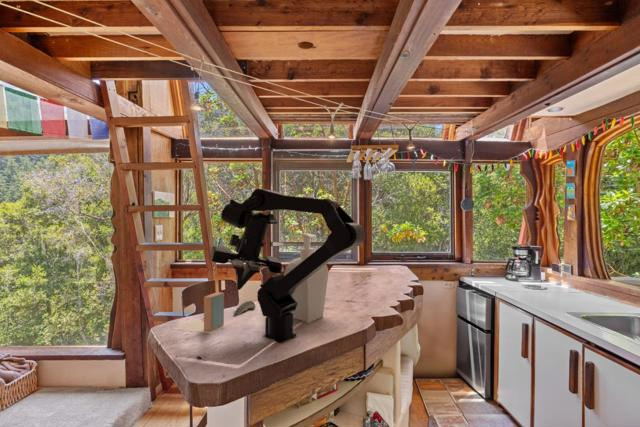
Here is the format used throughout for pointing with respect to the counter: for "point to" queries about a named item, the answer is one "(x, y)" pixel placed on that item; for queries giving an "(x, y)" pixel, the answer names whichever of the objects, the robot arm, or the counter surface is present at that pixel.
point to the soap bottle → (309, 286)
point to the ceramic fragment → (244, 307)
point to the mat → (196, 327)
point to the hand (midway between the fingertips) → (238, 289)
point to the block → (213, 311)
